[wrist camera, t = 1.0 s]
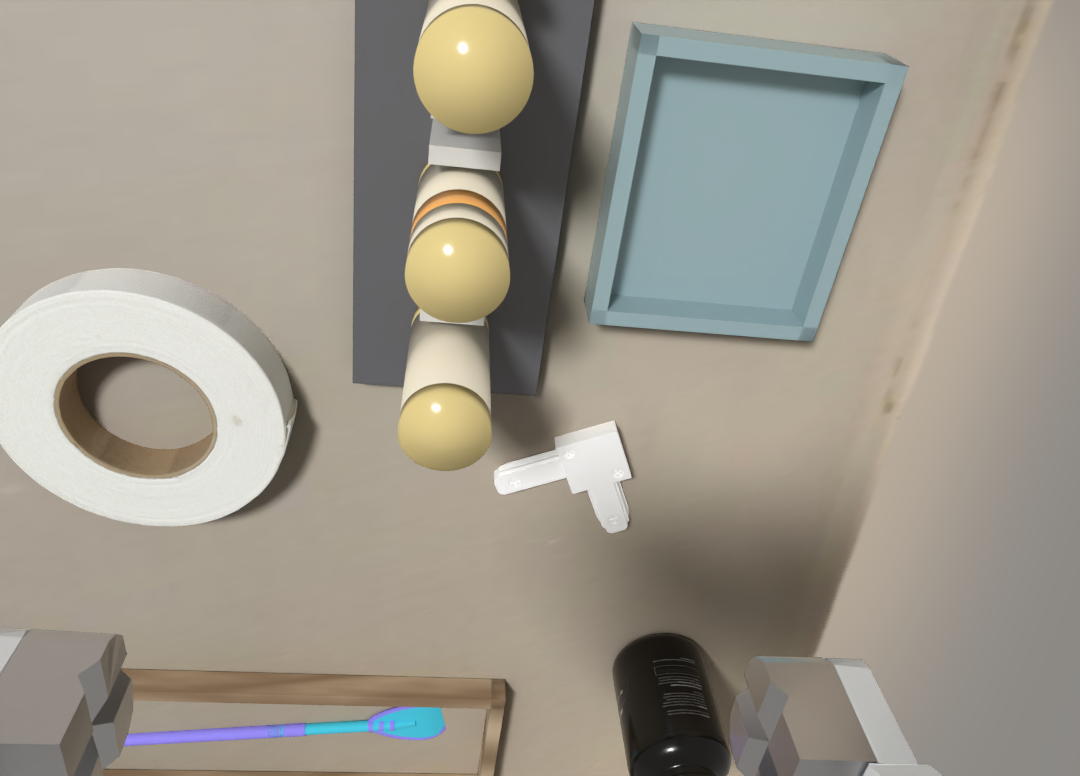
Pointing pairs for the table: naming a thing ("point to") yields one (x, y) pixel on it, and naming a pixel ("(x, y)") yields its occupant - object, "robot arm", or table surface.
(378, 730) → the spoon
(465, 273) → the cylinder
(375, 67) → the clip block
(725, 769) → the supplement bottle
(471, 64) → the fuse
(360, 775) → the wooden frame
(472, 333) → the fuse
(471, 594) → the table surface
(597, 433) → the corner connector
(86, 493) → the roll of tape
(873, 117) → the tray
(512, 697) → the table surface
